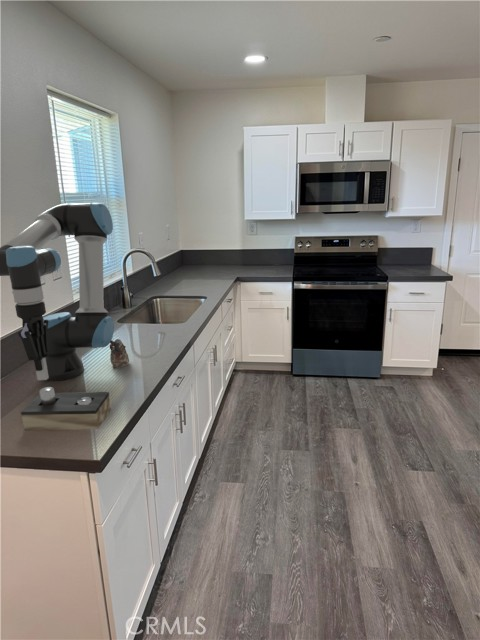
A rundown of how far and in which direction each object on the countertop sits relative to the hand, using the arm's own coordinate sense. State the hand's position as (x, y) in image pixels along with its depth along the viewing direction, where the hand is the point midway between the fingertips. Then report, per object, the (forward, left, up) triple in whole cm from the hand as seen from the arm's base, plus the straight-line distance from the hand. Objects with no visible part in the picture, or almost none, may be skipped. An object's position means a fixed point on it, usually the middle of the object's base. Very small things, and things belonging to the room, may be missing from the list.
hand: (43, 378), depth 128 cm
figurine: (-44, +8, -13) cm, 47 cm away
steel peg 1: (0, 0, -10) cm, 10 cm away
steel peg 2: (0, +11, -13) cm, 17 cm away
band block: (0, +6, -14) cm, 15 cm away
